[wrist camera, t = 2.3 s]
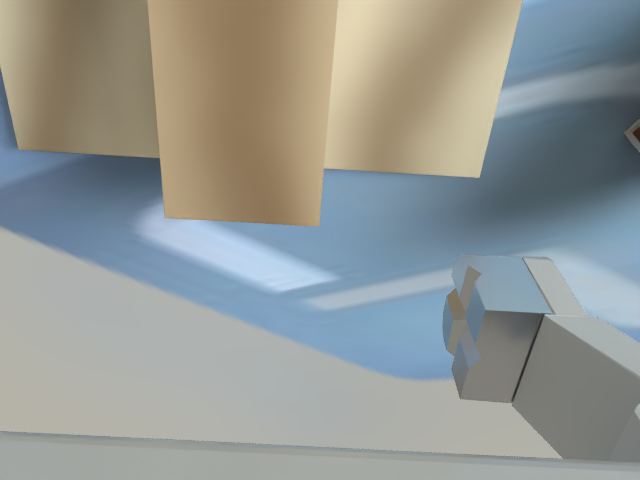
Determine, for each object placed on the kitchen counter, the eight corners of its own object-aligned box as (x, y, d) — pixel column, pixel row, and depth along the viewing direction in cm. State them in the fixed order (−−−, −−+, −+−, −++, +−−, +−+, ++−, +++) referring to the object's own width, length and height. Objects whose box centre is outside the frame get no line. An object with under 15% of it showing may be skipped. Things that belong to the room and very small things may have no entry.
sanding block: (189, 159, 22) (164, 217, 19) (177, -73, 18) (142, -60, 14) (317, 168, 23) (318, 226, 19) (334, -60, 18) (342, -44, 15)
